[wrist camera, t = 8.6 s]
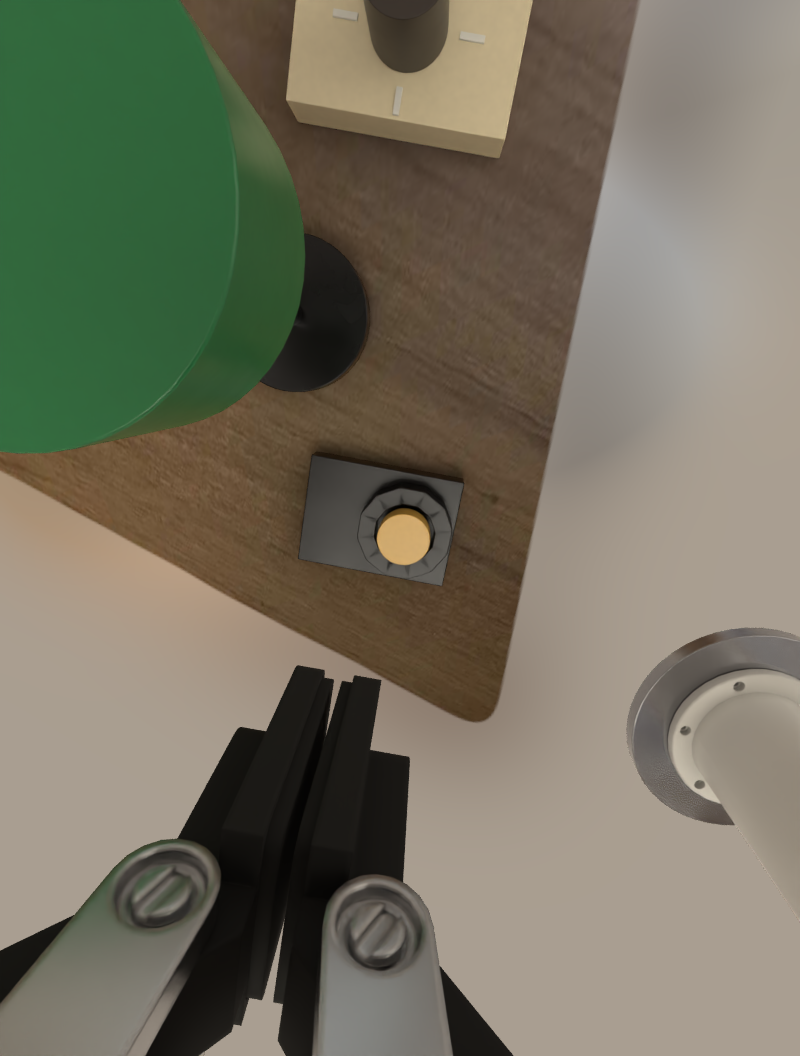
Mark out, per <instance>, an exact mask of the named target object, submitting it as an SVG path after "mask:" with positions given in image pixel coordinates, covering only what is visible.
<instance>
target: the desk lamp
mask: <svg viewBox="0 0 800 1056" xmlns="http://www.w3.org/2000/svg"><path fill="white" fill-rule="evenodd" d="M369 327H370V308H369V301H368V297H367V294H366V290H365V288H364V285H363V283H362V280H361V279H360V277H359V275H358V273H357V272H356V270H355V269H354V268H353V266H352V265H351V264H350V262H349V261H348V260H347V259H346V257H345V256H344V255H343V254H342V253H341V252H340V251H338V250H337V249H336V248H335V247H333V246H332V245H331V244H329V243H327V242H326V241H324V240H322V239H320V238H318V237H315V236H313V235H309V234H305V233H304V228H303V222H302V217H301V211H300V205H299V201H298V197H297V194H296V191H295V187H294V184H293V181H292V177H291V175H290V172H289V170H288V168H287V165H286V163H285V161H284V158H283V156H282V154H281V151H280V149H279V148H278V146H277V144H276V142H275V141H274V139H273V137H272V135H271V134H270V132H269V130H268V128H267V127H266V125H265V124H264V122H263V121H262V119H261V118H260V116H259V115H258V113H257V112H256V111H255V109H254V108H253V106H252V105H251V103H250V102H249V100H248V99H247V97H246V96H245V94H244V93H243V91H242V90H241V89H240V87H239V86H238V84H237V83H236V81H235V80H234V78H233V77H232V75H231V74H230V72H229V71H228V70H227V68H226V67H225V65H224V64H223V62H222V61H221V59H220V58H219V56H218V55H217V53H216V52H215V51H214V49H213V48H212V46H211V45H210V43H209V42H208V40H207V39H206V37H205V36H204V34H203V33H202V32H201V30H200V29H199V27H198V26H197V24H196V23H195V21H194V20H193V18H192V17H191V15H190V14H189V13H188V11H187V10H186V8H185V7H184V5H183V4H182V2H181V1H180V0H0V452H9V453H17V454H18V453H51V452H57V451H64V450H70V449H76V448H81V447H86V446H90V445H95V444H100V443H104V442H109V441H114V440H118V439H123V438H128V437H132V436H137V435H142V434H146V433H151V432H156V431H160V430H165V429H170V428H174V427H179V426H184V425H187V424H190V423H194V422H197V421H200V420H204V419H206V418H208V417H210V416H212V415H214V414H217V413H219V412H221V411H223V410H224V409H226V408H227V407H229V406H231V405H232V404H234V403H235V402H237V401H238V400H240V399H241V398H242V397H243V396H244V395H245V394H247V393H248V392H249V391H250V390H251V389H252V388H253V387H254V386H256V385H257V383H258V382H259V381H260V382H262V383H264V384H266V385H268V386H270V387H273V388H275V389H279V390H283V391H290V392H305V391H311V390H317V389H320V388H324V387H326V386H329V385H331V384H333V383H335V382H336V381H338V380H339V379H341V378H342V377H343V376H344V375H346V374H347V373H348V372H349V371H350V370H351V368H352V367H353V366H354V365H355V364H356V362H357V361H358V359H359V358H360V356H361V354H362V352H363V350H364V347H365V344H366V342H367V338H368V334H369Z"/></svg>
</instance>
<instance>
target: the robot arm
mask: <svg viewBox="0 0 800 1056" xmlns="http://www.w3.org/2000/svg"><path fill="white" fill-rule="evenodd" d="M324 675H325V671H324V670H321V669H316V668H310V667H304V666H299V665H298V666H296V668H295V670H294V672H293V674H292V676H291V678H290V681H289V683H288V685H287V687H286V689H285V691H284V694H283V696H282V698H281V700H280V702H279V705H278V707H277V709H276V711H275V713H274V715H273V718H272V720H271V722H270V724H269V726H268V728H267V731H261V730H255V729H249V728H244V727H240V728H238V729H237V731H236V732H235V734H234V736H233V737H232V739H231V741H230V743H229V745H228V746H227V748H226V750H225V752H224V754H223V756H222V757H221V759H220V761H219V763H218V765H217V767H216V769H215V770H214V772H213V774H212V776H211V778H210V780H209V781H208V783H207V785H206V787H205V789H204V791H203V793H202V794H201V796H200V798H199V800H198V802H197V804H196V805H195V807H194V809H193V811H192V813H191V815H190V816H189V818H188V820H187V822H186V824H185V826H184V828H183V829H182V831H181V833H180V835H179V837H178V838H177V839H169V840H160V841H157V842H154V843H151V844H147V845H144V846H143V847H141V848H139V849H137V850H135V851H134V852H132V853H130V854H129V855H127V856H126V857H125V858H124V859H123V860H122V861H121V862H119V863H118V864H117V865H116V866H115V867H114V868H113V869H112V871H111V872H110V873H109V874H108V875H107V876H106V878H105V879H104V880H103V881H102V882H101V884H100V885H99V886H98V887H97V888H96V890H95V891H94V892H93V893H92V894H91V896H90V897H89V898H88V899H87V900H86V902H85V903H84V904H83V905H82V906H81V908H80V909H79V910H78V912H76V914H75V915H73V916H71V917H69V918H67V919H65V920H63V921H61V922H59V923H57V924H55V925H52V926H50V927H48V928H46V929H44V930H42V931H40V932H38V933H36V934H34V935H32V936H30V937H28V938H25V939H23V940H21V941H19V942H17V943H15V944H13V945H11V946H9V947H7V948H5V949H3V950H1V951H0V1056H204V1054H205V1051H206V1050H207V1049H209V1048H210V1047H211V1046H213V1045H214V1044H216V1043H217V1042H218V1041H220V1040H221V1039H222V1038H224V1037H225V1036H226V1035H228V1034H229V1033H231V1031H232V1028H233V1025H234V1024H235V1025H240V1026H241V1024H242V1021H243V1018H244V1014H245V1011H246V1007H247V1004H248V1000H249V998H252V999H258V1000H262V999H263V996H264V993H265V989H266V986H267V981H268V978H269V974H270V971H271V967H272V963H273V960H274V956H275V952H276V948H277V945H278V941H279V937H280V933H281V929H282V926H283V922H284V928H283V936H282V942H281V950H280V957H279V964H278V972H277V978H276V986H275V992H274V1001H273V1002H275V1003H280V1004H283V1008H282V1015H281V1022H280V1028H279V1035H278V1042H279V1044H280V1046H281V1047H282V1049H283V1051H284V1053H285V1055H286V1056H513V1055H512V1053H511V1052H510V1051H509V1050H508V1049H507V1047H506V1046H505V1045H504V1044H503V1043H502V1041H501V1040H500V1039H499V1037H498V1036H497V1035H496V1034H495V1033H494V1031H493V1030H492V1029H491V1028H490V1027H489V1025H488V1024H487V1023H486V1022H485V1021H484V1019H483V1018H482V1017H481V1016H480V1015H479V1013H478V1012H477V1011H476V1010H475V1008H474V1007H473V1006H472V1005H471V1003H470V1002H469V1001H468V1000H467V999H466V997H465V996H464V995H463V994H462V992H461V991H460V990H459V989H458V988H457V986H456V985H455V984H454V983H453V982H452V980H451V979H450V978H449V977H448V975H447V974H446V973H445V972H444V970H443V969H442V968H441V967H440V966H439V960H438V953H437V947H436V940H435V933H434V926H433V923H432V920H431V917H430V913H429V910H428V908H427V907H426V905H425V904H424V902H423V901H422V899H421V897H420V896H419V895H418V894H417V893H416V892H415V891H414V890H412V889H411V888H410V887H409V886H408V885H407V884H405V883H403V871H404V853H405V837H406V820H407V802H408V784H409V767H410V758H409V757H407V756H401V755H396V754H390V753H384V752H379V751H373V750H370V747H371V739H372V734H373V728H374V722H375V716H376V710H377V703H378V698H379V691H380V685H381V680H377V679H372V678H367V677H361V676H354V678H353V682H352V683H351V682H346V681H342V683H341V687H340V690H339V693H338V696H337V700H336V703H335V707H334V710H333V714H332V718H331V721H330V724H329V728H328V731H327V734H326V730H327V724H328V717H329V711H330V704H331V697H332V690H333V683H334V680H333V679H329V678H324ZM668 751H669V754H670V758H671V761H672V763H673V765H674V767H675V769H676V771H677V772H678V774H679V775H680V777H681V778H682V780H683V781H684V782H685V784H686V785H687V786H689V787H690V788H691V789H692V790H693V791H694V792H696V793H697V794H699V795H701V796H702V797H704V798H706V799H709V800H711V801H714V802H717V803H720V804H722V806H723V807H724V809H725V810H726V812H727V813H728V815H729V816H730V818H731V819H732V821H733V822H734V824H735V825H736V827H737V828H738V830H739V831H740V833H741V835H742V836H743V837H744V839H745V840H746V842H747V844H748V845H749V846H750V848H751V849H752V851H753V852H754V854H755V855H756V857H757V858H758V860H759V862H760V863H761V865H762V866H763V868H764V869H765V871H766V872H767V873H768V875H769V877H770V878H771V879H772V881H773V883H774V884H775V886H776V887H777V889H778V890H779V892H780V893H781V895H782V896H783V898H784V899H785V901H786V902H787V904H788V905H789V907H790V908H791V910H792V911H793V913H794V914H795V916H796V917H797V919H798V920H799V922H800V680H798V679H797V678H795V677H793V676H790V675H787V674H785V673H782V672H778V671H773V670H768V669H747V670H740V671H734V672H731V673H728V674H724V675H721V676H719V677H717V678H715V679H713V680H711V681H709V682H706V683H705V684H703V685H702V686H701V687H699V688H698V689H696V690H695V691H694V692H693V693H692V694H691V695H690V696H689V697H688V698H687V699H686V700H685V701H684V702H683V703H682V704H681V706H680V707H679V709H678V710H677V712H676V713H675V715H674V718H673V720H672V722H671V725H670V729H669V734H668ZM284 919H285V921H284Z"/></svg>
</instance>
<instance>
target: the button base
mask: <svg viewBox="0 0 800 1056" xmlns="http://www.w3.org/2000/svg"><path fill="white" fill-rule="evenodd" d="M463 487H464V481H463V479H462V478H457V477H451V476H446V475H440V474H435V473H430V472H424V471H419V470H414V469H408V468H403V467H398V466H392V465H387V464H382V463H376V462H371V461H366V460H360V459H355V458H350V457H344V456H339V455H334V454H328V453H323V452H318V451H317V452H315V453H314V454H312V458H311V465H310V473H309V480H308V488H307V495H306V503H305V511H304V518H303V526H302V533H301V541H300V548H299V556H298V559H301V560H306V561H311V562H316V563H322V564H327V565H332V566H338V567H343V568H348V569H354V570H359V571H364V572H369V573H375V574H380V575H385V576H391V577H396V578H401V579H406V580H412V581H417V582H422V583H428V584H433V585H438V586H442V585H443V580H444V575H445V571H446V566H447V561H448V557H449V552H450V547H451V543H452V538H453V533H454V529H455V524H456V519H457V515H458V510H459V506H460V501H461V496H462V492H463ZM400 508H408V509H413V510H415V511H417V512H419V513H420V514H422V515H423V516H424V517H425V519H426V520H427V522H428V524H429V527H430V545H429V549H428V551H427V553H426V554H425V555H424V557H423V558H422V559H420V560H419V561H417V562H415V563H413V564H409V565H399V564H395V563H392V562H390V561H389V560H387V559H386V558H385V557H384V556H383V555H382V554H381V552H380V550H379V548H378V545H377V534H378V530H379V527H380V525H381V522H382V520H383V519H384V517H385V516H386V515H387V514H389V513H390V512H392V511H394V510H396V509H400Z"/></svg>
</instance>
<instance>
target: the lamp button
mask: <svg viewBox="0 0 800 1056" xmlns="http://www.w3.org/2000/svg"><path fill="white" fill-rule="evenodd" d="M377 545H378V548H379V550H380V552H381V554H382V555H383V556H384V557H385V558H386V559H387V560H389V561H390V562H392V563H395V564H399V565H409V564H413V563H415V562H417V561H419V560H420V559H422V558H423V557H424V555H425V554H426V553H427V551H428V549H429V545H430V527H429V524H428V522H427V520H426V519H425V517H424V516H423V515H422V514H420V513H419V512H417V511H415V510H413V509H408V508H400V509H396V510H394V511H392V512H390V513H389V514H387V515H386V516H385V517H384V519H383V520H382V522H381V525H380V527H379V530H378V534H377Z"/></svg>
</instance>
